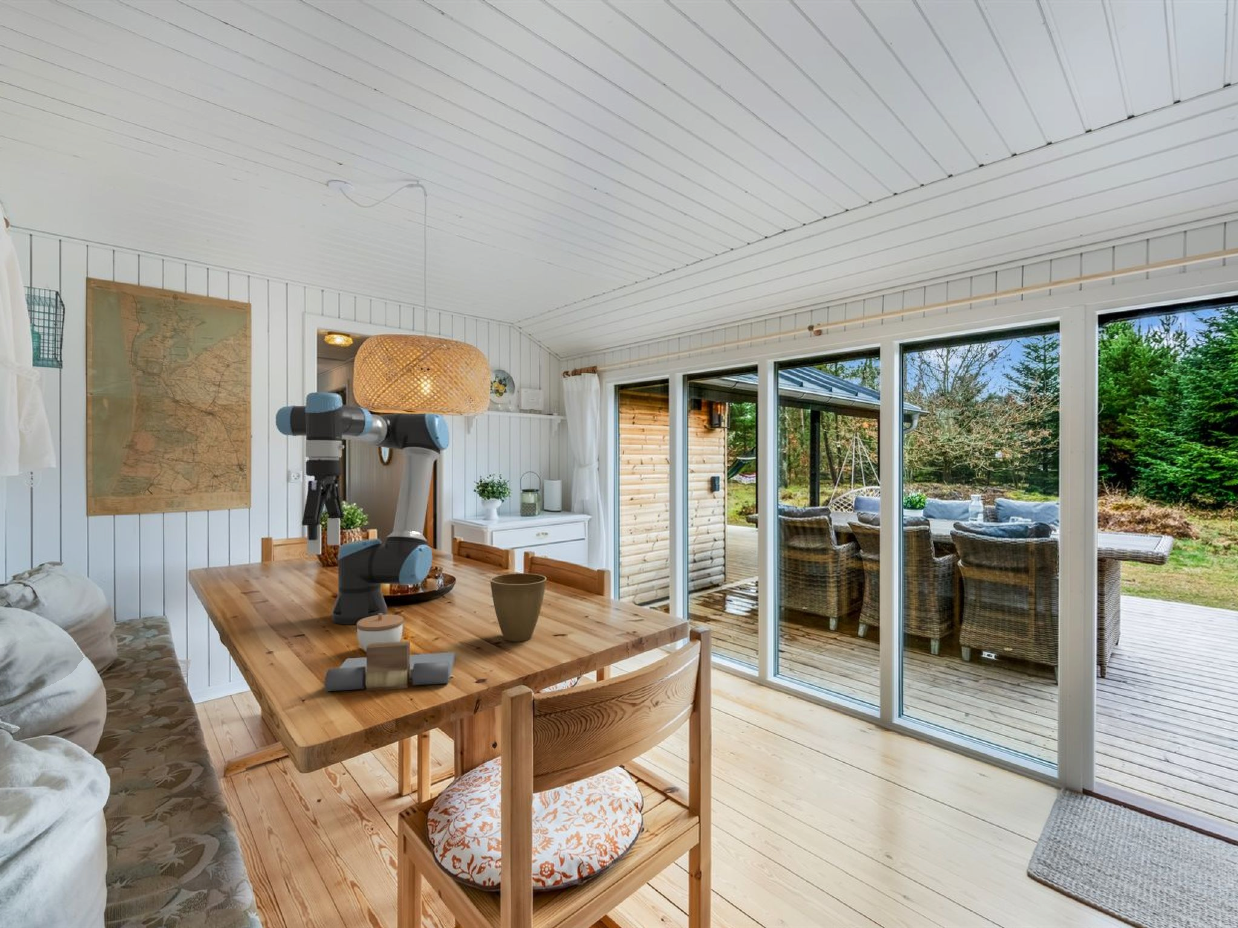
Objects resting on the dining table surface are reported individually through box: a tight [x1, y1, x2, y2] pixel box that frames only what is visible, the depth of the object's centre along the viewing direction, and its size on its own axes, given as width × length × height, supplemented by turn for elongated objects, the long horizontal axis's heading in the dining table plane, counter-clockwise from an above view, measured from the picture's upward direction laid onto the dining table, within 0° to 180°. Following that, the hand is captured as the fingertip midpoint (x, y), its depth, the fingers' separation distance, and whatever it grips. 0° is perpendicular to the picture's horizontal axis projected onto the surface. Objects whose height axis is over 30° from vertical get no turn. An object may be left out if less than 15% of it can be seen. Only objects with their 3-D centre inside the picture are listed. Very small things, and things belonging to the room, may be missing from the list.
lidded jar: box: [356, 613, 404, 653], centre depth 139 cm, size 11×11×9 cm
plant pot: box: [489, 572, 547, 642], centre depth 150 cm, size 15×15×16 cm
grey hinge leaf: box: [324, 651, 456, 692], centre depth 123 cm, size 15×24×4 cm, turn 101°
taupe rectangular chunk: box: [365, 640, 411, 692], centre depth 118 cm, size 4×8×9 cm, turn 100°
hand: (324, 549), depth 131 cm, fingers open, 13 cm apart
